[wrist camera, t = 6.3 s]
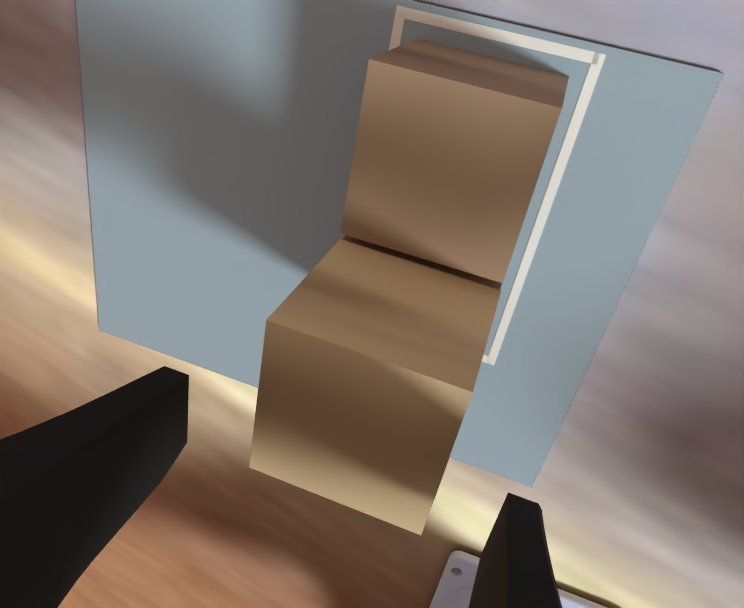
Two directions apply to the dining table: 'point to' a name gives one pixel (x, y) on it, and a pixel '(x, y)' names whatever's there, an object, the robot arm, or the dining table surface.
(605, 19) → the dining table surface
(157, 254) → the blueprint mat
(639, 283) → the dining table surface
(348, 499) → the oak block
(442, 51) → the walnut block
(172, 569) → the dining table surface
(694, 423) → the dining table surface
